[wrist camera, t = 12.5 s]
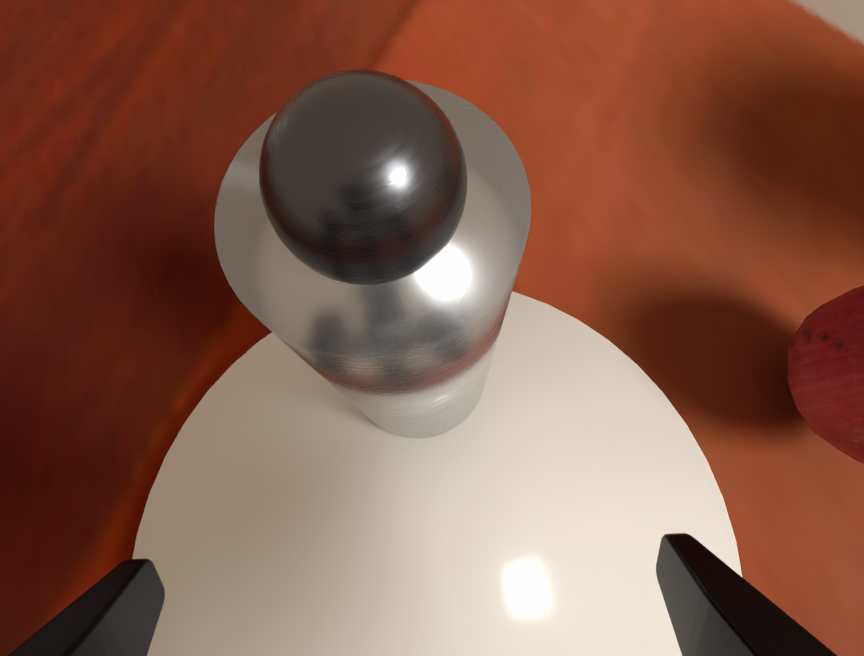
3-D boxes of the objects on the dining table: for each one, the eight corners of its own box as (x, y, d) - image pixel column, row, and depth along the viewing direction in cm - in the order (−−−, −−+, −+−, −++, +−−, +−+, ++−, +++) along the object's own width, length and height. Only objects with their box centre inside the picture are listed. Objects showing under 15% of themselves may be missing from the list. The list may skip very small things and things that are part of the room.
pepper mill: (422, 468, 17) (342, 404, 5) (323, 375, 18) (53, 129, 6) (513, 364, 18) (643, 87, 6) (414, 282, 19) (346, -91, 7)
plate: (662, 1082, 13) (682, 1138, 12) (34, 762, 16) (2, 783, 15) (763, 380, 19) (783, 373, 18) (291, 236, 22) (282, 221, 20)
